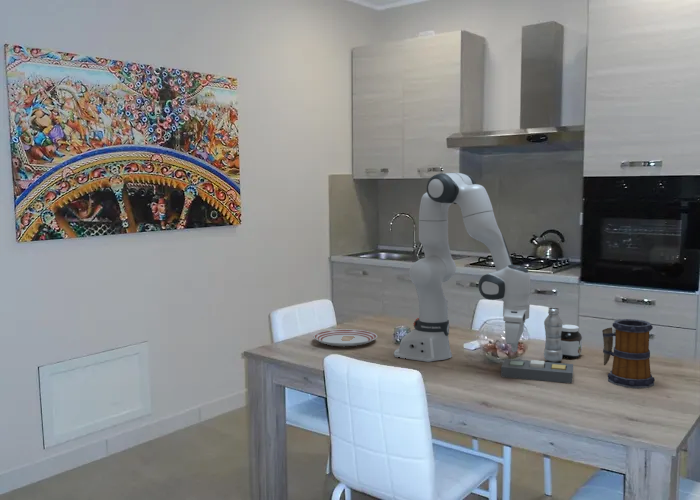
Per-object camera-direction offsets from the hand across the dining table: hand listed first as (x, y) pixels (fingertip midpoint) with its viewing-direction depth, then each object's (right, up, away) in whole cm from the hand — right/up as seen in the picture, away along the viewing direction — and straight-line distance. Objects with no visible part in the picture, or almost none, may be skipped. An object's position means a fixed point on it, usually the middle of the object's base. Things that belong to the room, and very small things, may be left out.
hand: (514, 350), depth 219 cm
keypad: (+7, -8, -2) cm, 11 cm away
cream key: (+7, -5, -2) cm, 9 cm away
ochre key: (+14, -6, -5) cm, 16 cm away
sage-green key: (+1, -6, 0) cm, 6 cm away
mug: (+35, -9, -8) cm, 37 cm away
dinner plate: (-59, -5, +49) cm, 77 cm away
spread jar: (+26, -6, +23) cm, 35 cm away
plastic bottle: (+18, -7, +14) cm, 24 cm away
